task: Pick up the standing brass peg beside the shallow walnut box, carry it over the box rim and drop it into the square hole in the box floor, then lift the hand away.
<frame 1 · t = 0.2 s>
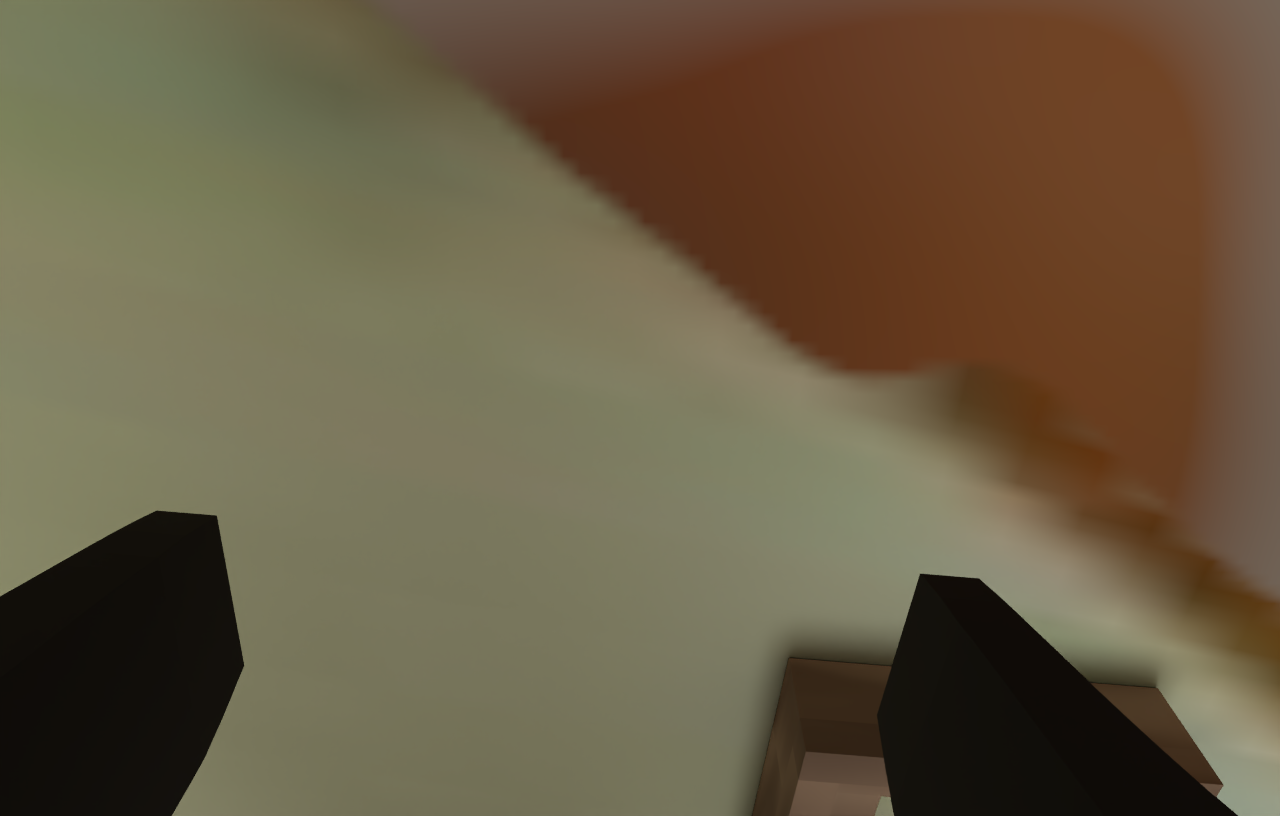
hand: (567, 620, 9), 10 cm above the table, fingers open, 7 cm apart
box: (927, 796, 25), on the table
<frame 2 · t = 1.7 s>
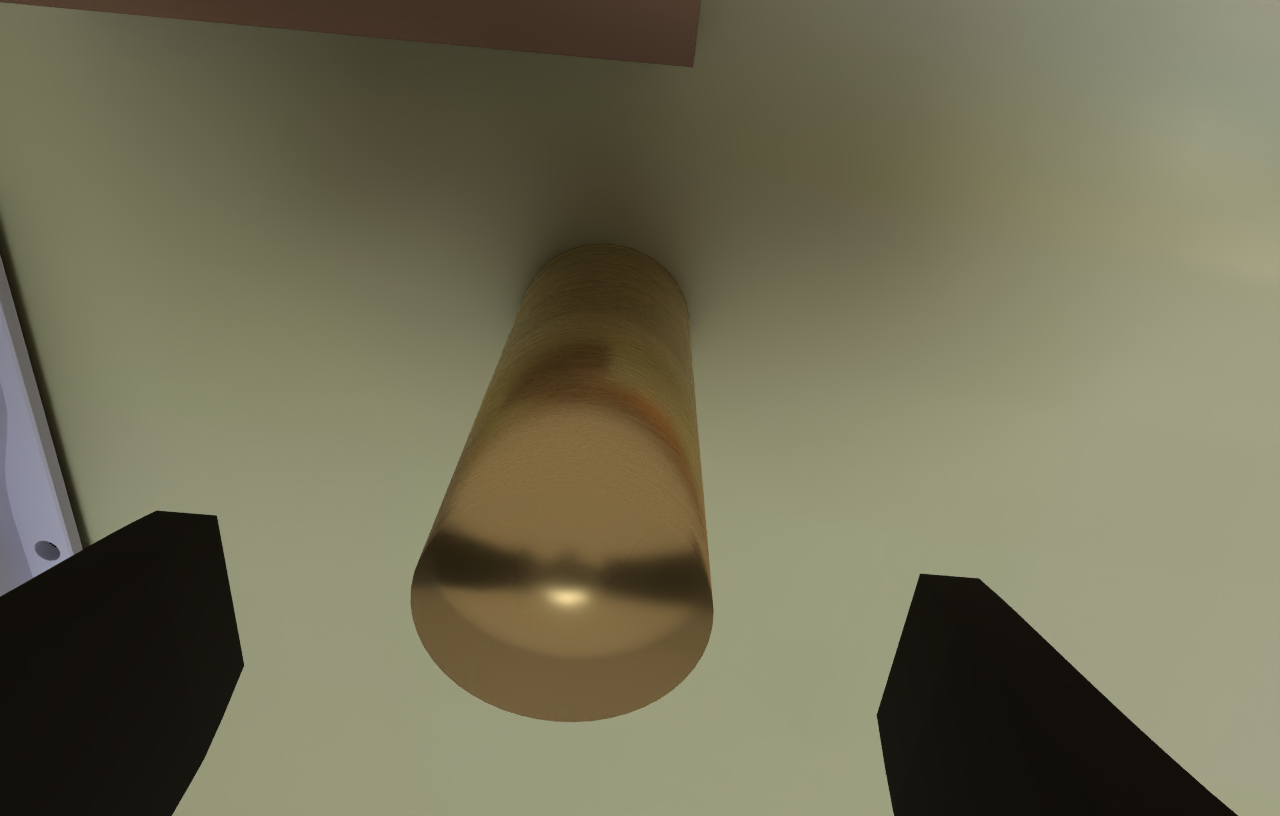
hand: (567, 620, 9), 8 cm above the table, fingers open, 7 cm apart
peg: (604, 326, 16), on the table
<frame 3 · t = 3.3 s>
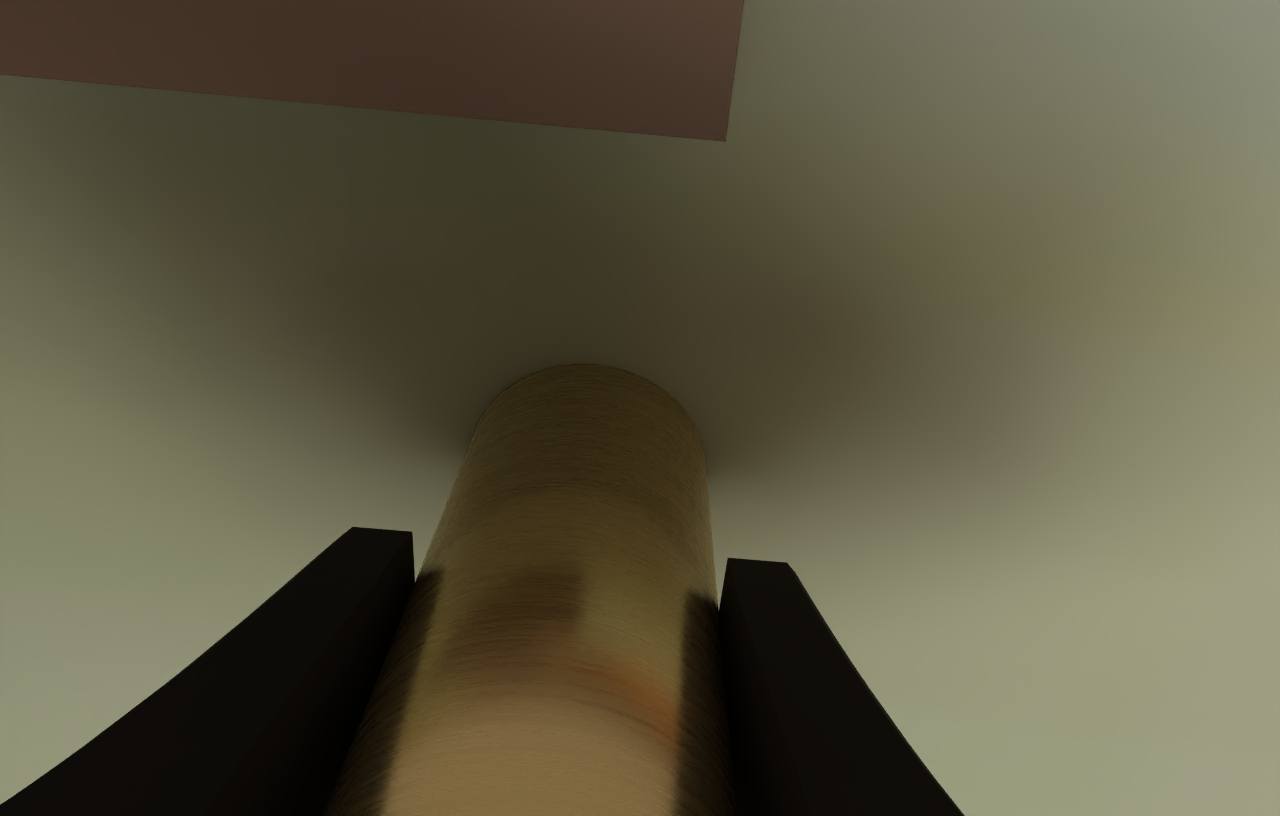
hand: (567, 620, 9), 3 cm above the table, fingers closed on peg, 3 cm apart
peg: (587, 471, 11), on the table, touching gripper
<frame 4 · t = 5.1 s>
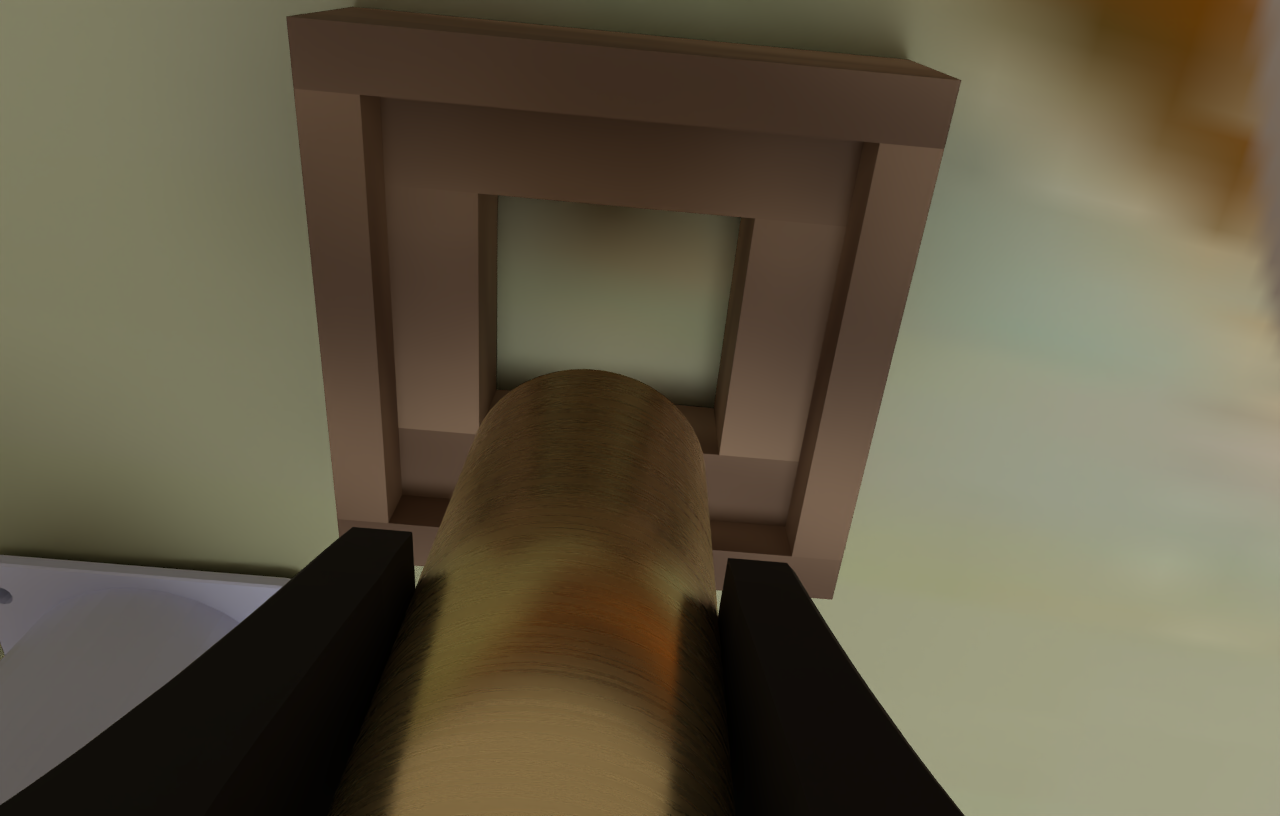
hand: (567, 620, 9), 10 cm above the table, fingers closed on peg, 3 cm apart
box: (613, 296, 17), on the table
peg: (587, 475, 11), point 7 cm above the table, touching gripper
when the fingers open (4 cm above the table, at t = 6.8 s): peg stays where it is, resting in box.
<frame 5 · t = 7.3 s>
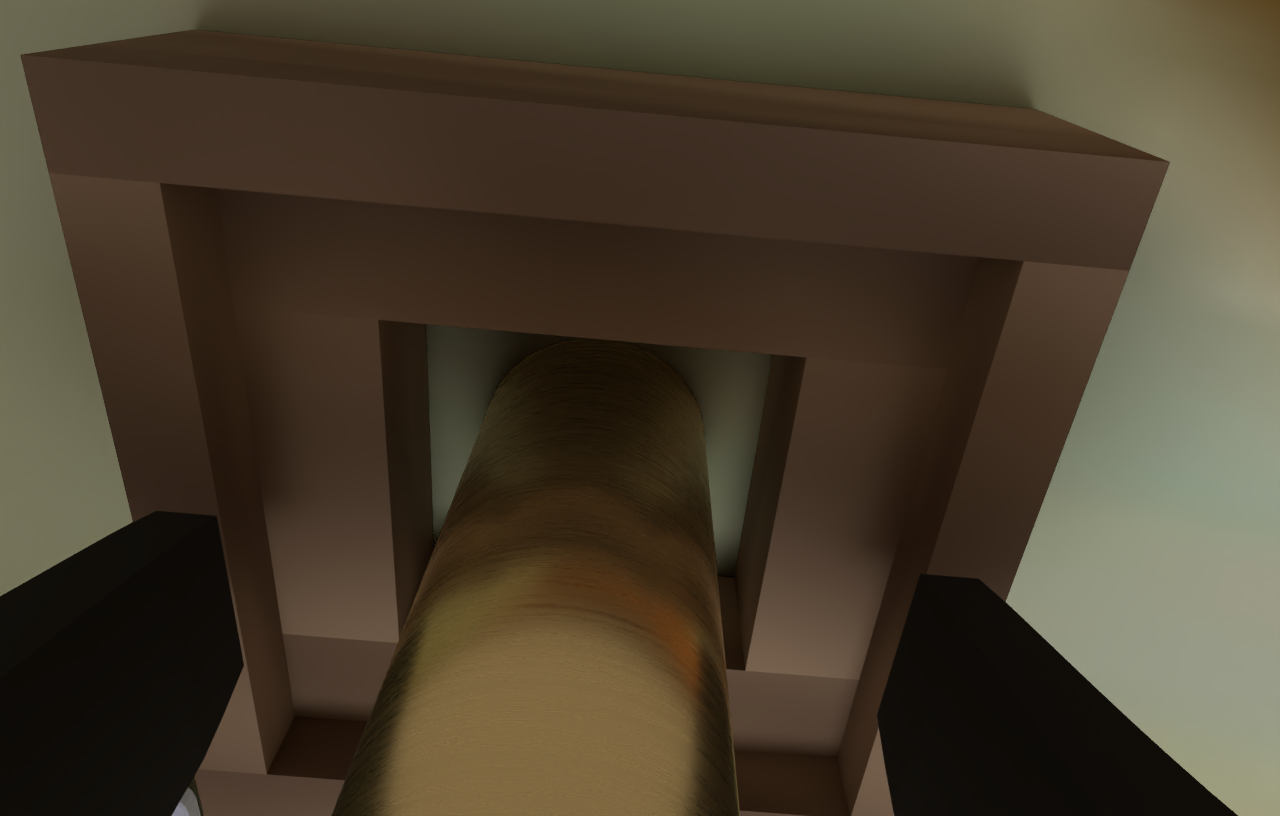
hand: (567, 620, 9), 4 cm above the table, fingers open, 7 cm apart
box: (593, 435, 12), on the table
peg: (594, 438, 12), resting in box
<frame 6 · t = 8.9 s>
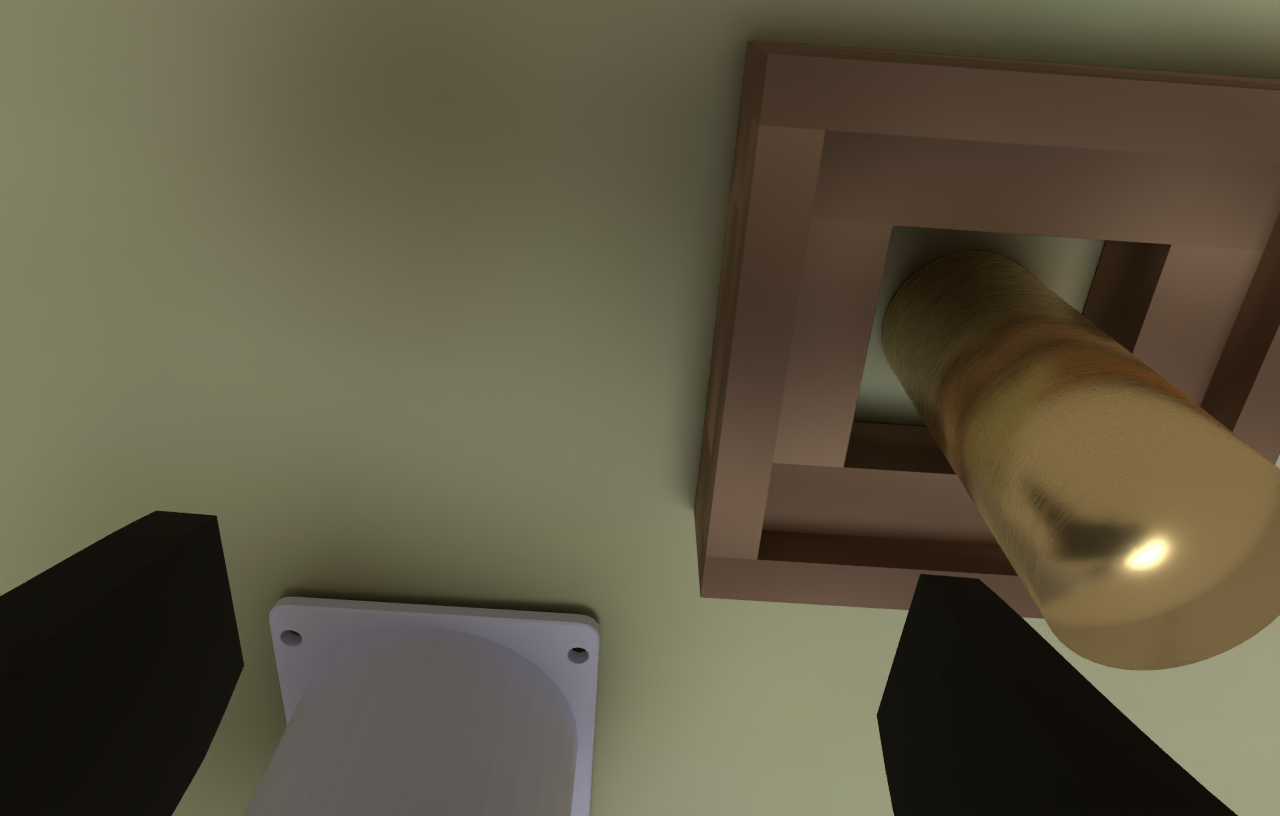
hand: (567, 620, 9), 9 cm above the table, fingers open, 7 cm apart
box: (960, 323, 17), on the table
peg: (960, 326, 17), resting in box
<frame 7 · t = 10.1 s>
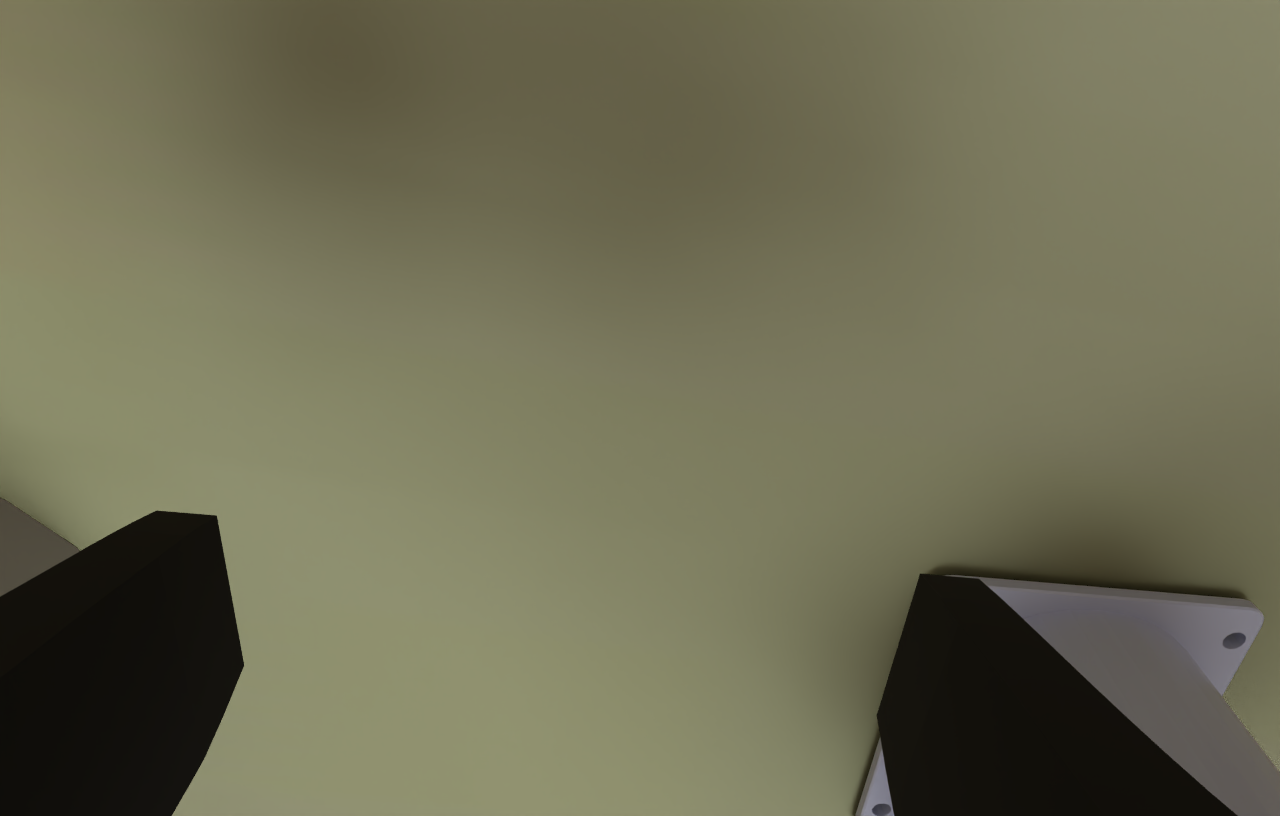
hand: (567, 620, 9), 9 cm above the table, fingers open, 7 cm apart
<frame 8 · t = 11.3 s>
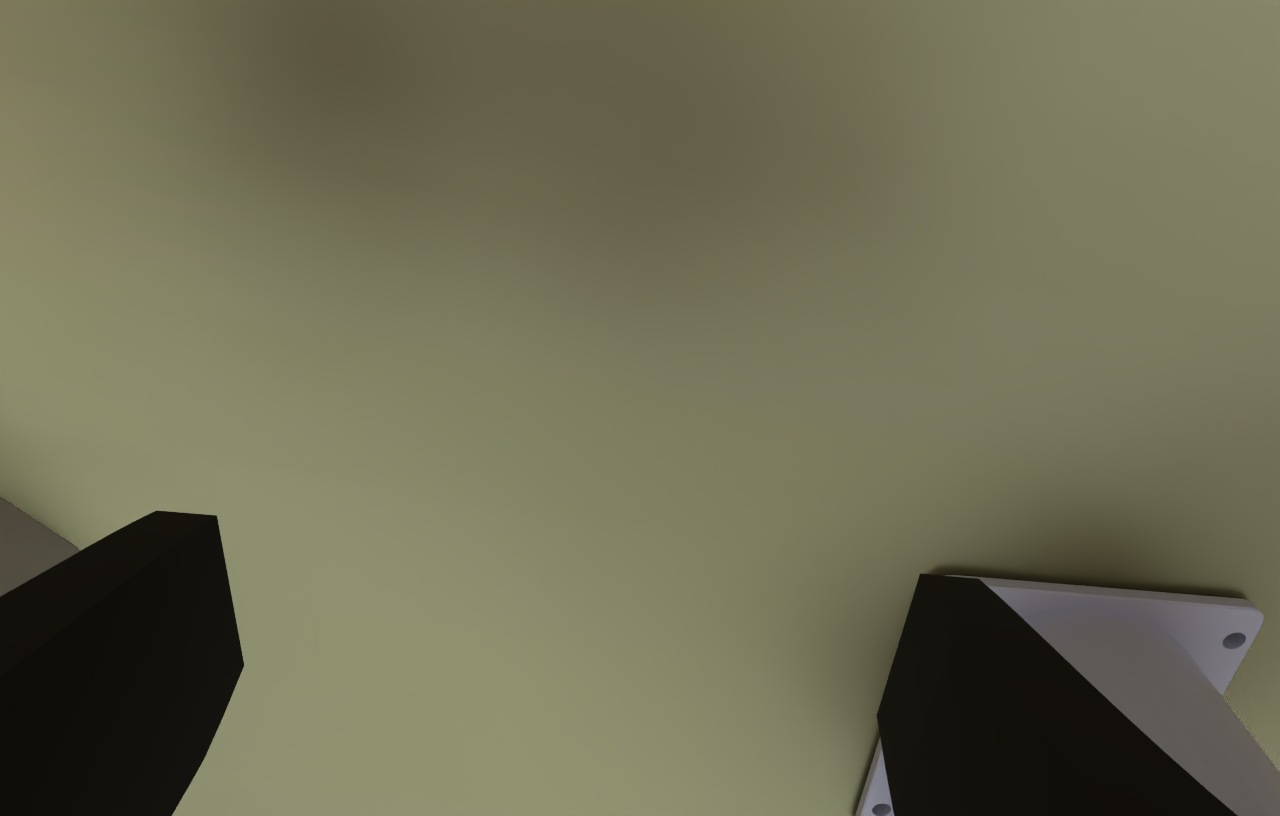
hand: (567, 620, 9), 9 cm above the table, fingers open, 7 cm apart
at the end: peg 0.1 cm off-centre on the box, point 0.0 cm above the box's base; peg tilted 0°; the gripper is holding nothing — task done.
